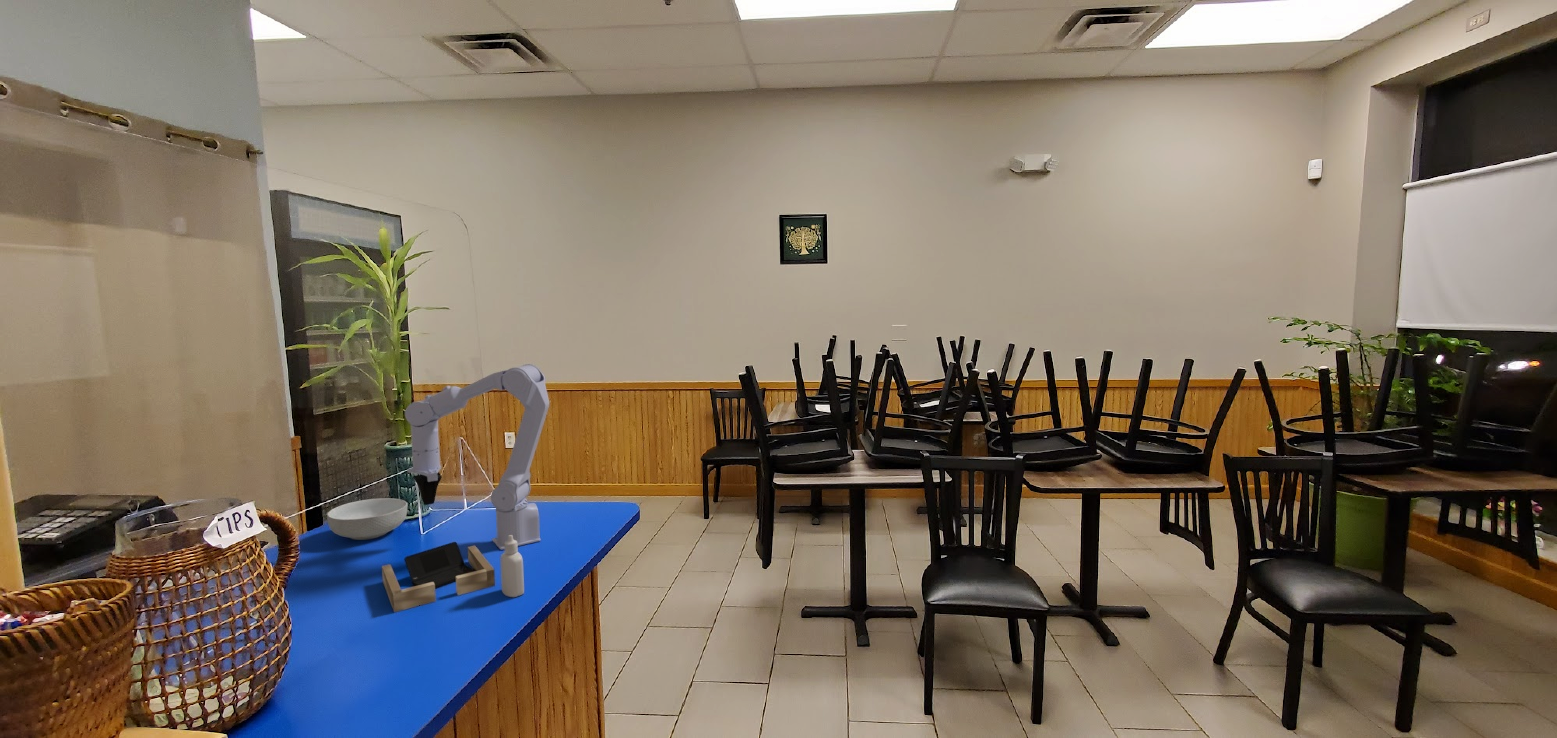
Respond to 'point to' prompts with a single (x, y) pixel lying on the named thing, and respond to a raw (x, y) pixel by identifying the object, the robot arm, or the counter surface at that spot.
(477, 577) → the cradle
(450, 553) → the handheld gaming console
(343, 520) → the cereal bowl
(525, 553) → the counter surface
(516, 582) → the eye dropper bottle
